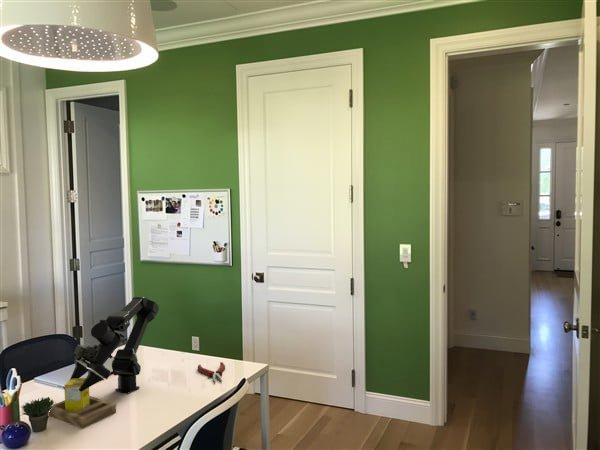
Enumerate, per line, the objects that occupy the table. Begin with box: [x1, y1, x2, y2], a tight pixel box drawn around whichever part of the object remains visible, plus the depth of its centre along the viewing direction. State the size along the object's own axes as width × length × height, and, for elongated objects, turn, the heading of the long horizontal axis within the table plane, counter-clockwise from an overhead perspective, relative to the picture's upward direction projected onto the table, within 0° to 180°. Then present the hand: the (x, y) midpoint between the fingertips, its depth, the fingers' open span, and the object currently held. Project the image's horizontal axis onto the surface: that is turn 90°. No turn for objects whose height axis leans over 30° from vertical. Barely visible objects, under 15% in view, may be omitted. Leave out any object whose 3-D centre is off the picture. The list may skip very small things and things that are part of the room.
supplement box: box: [64, 377, 90, 413], centre depth 164 cm, size 6×6×11 cm
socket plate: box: [48, 395, 117, 429], centre depth 163 cm, size 18×13×3 cm
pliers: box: [197, 361, 226, 383], centre depth 199 cm, size 12×20×3 cm, turn 20°
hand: (74, 387), depth 163 cm, fingers open, 9 cm apart
